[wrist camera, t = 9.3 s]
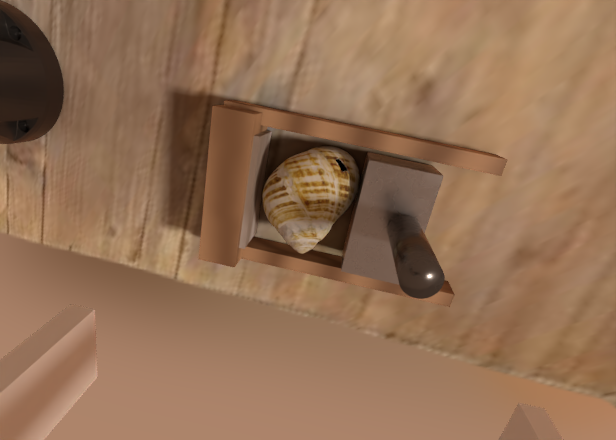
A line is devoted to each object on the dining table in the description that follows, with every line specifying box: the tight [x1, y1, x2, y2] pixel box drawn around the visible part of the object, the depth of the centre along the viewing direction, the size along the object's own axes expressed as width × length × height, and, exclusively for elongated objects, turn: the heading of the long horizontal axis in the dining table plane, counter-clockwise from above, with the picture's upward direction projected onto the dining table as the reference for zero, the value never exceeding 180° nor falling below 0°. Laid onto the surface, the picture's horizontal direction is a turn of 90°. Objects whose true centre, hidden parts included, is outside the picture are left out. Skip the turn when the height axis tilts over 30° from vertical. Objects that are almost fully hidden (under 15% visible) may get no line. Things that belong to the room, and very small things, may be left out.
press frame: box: [199, 100, 507, 307], centre depth 37 cm, size 28×17×6 cm, turn 79°
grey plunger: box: [341, 152, 444, 299], centre depth 33 cm, size 7×12×15 cm, turn 169°
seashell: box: [262, 146, 360, 253], centre depth 37 cm, size 10×10×10 cm
